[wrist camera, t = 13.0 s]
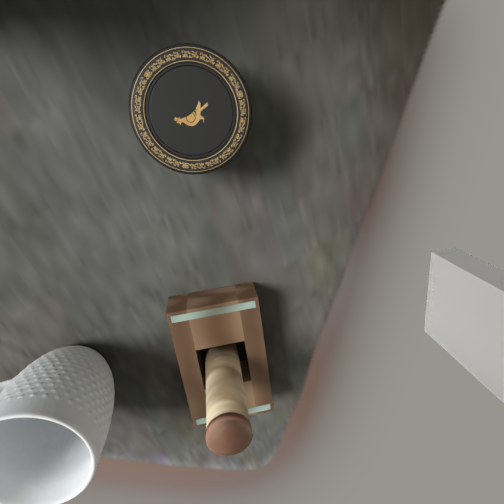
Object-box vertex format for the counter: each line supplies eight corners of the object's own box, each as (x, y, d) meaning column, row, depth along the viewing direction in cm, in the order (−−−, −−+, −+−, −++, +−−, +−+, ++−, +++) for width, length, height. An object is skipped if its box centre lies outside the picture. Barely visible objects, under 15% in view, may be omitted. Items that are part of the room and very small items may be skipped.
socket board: (194, 403, 46) (194, 428, 42) (169, 297, 40) (165, 314, 36) (268, 388, 47) (274, 411, 43) (252, 281, 41) (258, 297, 37)
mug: (1, 409, 42) (-81, 522, 30) (-15, 330, 38) (-116, 421, 26) (128, 402, 44) (101, 505, 32) (124, 327, 41) (91, 410, 29)
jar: (262, 106, 35) (278, 99, 28) (206, 186, 37) (208, 199, 30) (178, 36, 32) (172, 8, 25) (122, 127, 34) (101, 125, 27)
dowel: (207, 363, 44) (210, 459, 31) (201, 335, 43) (202, 425, 29) (239, 356, 44) (255, 449, 31) (234, 329, 43) (249, 414, 30)
